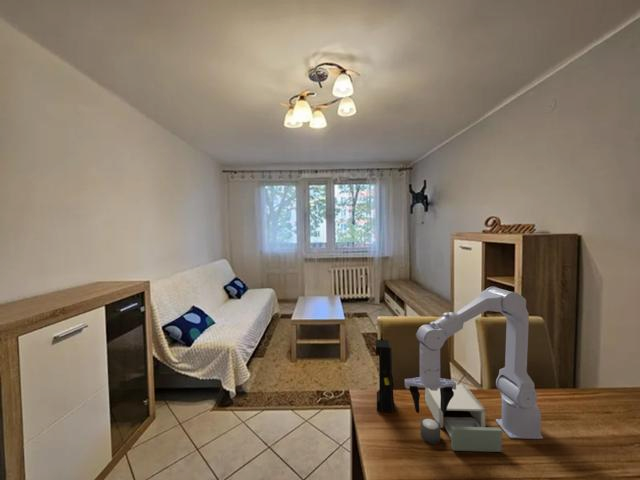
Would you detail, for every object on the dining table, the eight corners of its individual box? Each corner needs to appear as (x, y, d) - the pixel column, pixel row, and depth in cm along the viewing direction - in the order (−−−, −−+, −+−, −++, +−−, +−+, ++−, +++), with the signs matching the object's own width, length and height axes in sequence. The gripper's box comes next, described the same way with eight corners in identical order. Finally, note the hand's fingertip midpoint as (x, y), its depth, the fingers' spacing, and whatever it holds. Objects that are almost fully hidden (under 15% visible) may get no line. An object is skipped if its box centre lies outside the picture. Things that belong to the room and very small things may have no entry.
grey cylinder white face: (436, 430, 87) (436, 417, 87) (443, 444, 82) (443, 430, 81) (418, 430, 87) (418, 417, 87) (423, 443, 82) (423, 430, 82)
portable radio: (395, 415, 95) (394, 341, 94) (376, 413, 96) (375, 340, 95) (393, 401, 102) (392, 333, 102) (376, 399, 104) (375, 332, 103)
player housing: (465, 401, 101) (464, 384, 101) (485, 428, 87) (485, 409, 87) (425, 400, 102) (425, 384, 102) (439, 427, 88) (439, 408, 88)
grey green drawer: (477, 419, 91) (477, 401, 91) (501, 451, 78) (501, 430, 78) (436, 418, 92) (436, 400, 92) (452, 450, 79) (452, 429, 79)
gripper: (408, 372, 80) (408, 419, 81) (460, 373, 79) (460, 420, 80) (402, 361, 87) (403, 404, 88) (450, 362, 86) (450, 405, 87)
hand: (430, 411), depth 84 cm, fingers open, 7 cm apart
